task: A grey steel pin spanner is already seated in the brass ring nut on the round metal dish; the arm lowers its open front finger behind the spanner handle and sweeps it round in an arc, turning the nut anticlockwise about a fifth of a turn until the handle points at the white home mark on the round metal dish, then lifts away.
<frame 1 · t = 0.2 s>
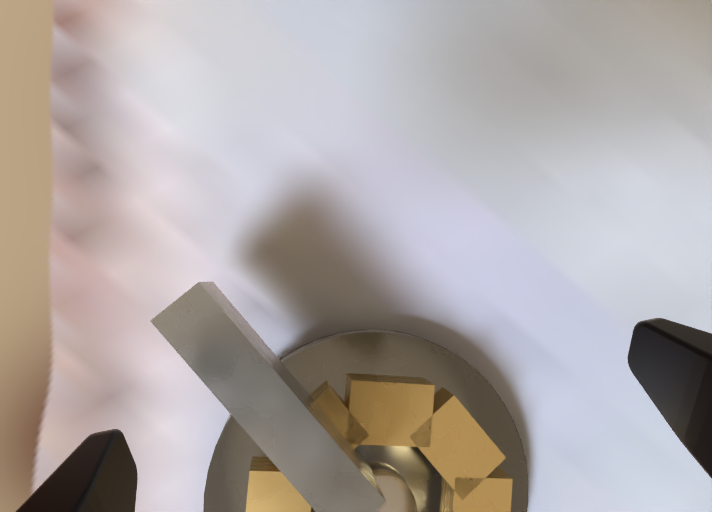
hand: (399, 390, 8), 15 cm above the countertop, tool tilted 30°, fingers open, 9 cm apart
round metal dish: (369, 486, 23), on the countertop
ring nut: (335, 469, 19), point 4 cm above the countertop, hinge at 0.0°
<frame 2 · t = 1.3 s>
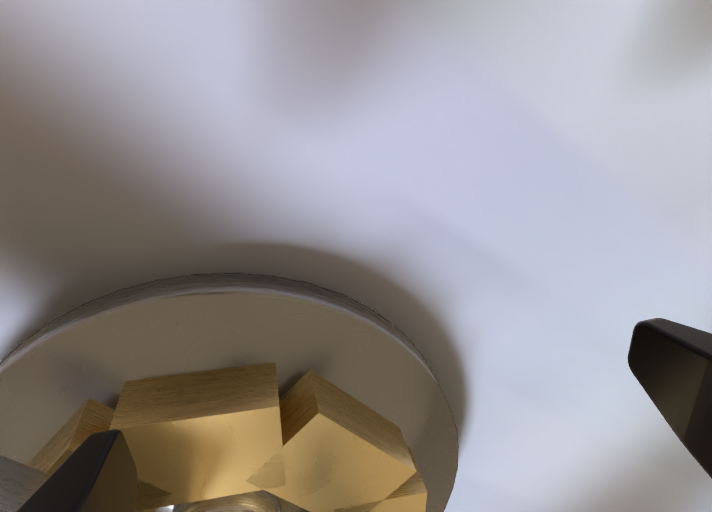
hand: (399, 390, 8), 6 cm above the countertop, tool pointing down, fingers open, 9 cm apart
round metal dish: (228, 476, 16), on the countertop
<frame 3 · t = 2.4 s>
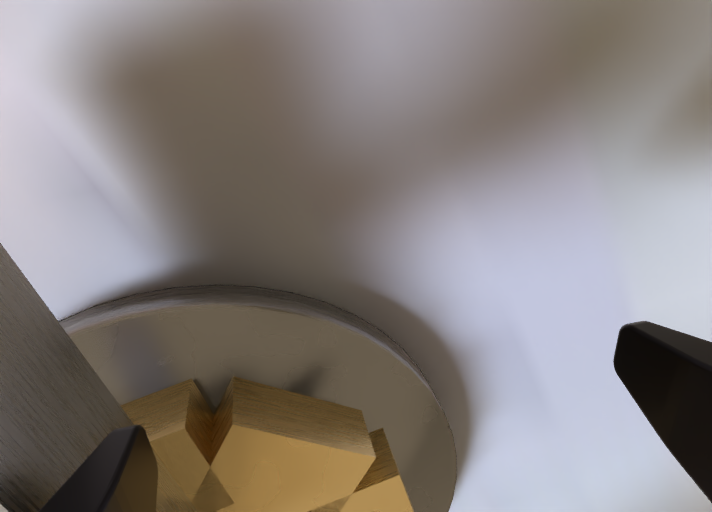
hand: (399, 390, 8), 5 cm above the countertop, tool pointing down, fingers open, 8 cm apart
round metal dish: (219, 493, 15), on the countertop
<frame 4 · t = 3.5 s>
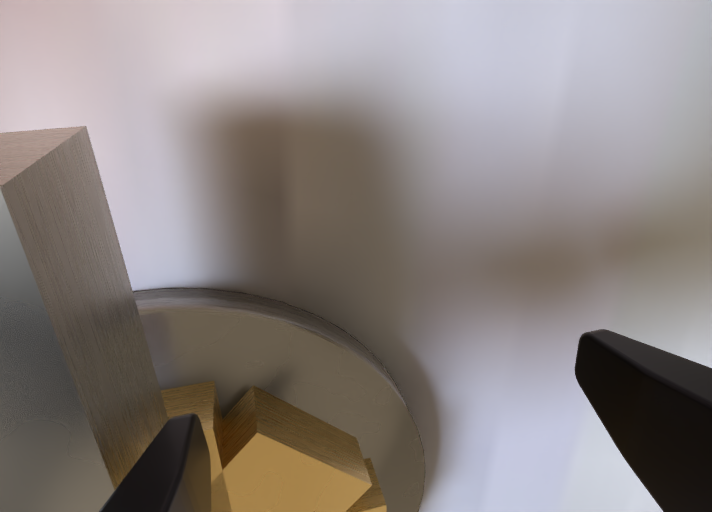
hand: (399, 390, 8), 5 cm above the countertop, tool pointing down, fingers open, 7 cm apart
round metal dish: (186, 498, 15), on the countertop
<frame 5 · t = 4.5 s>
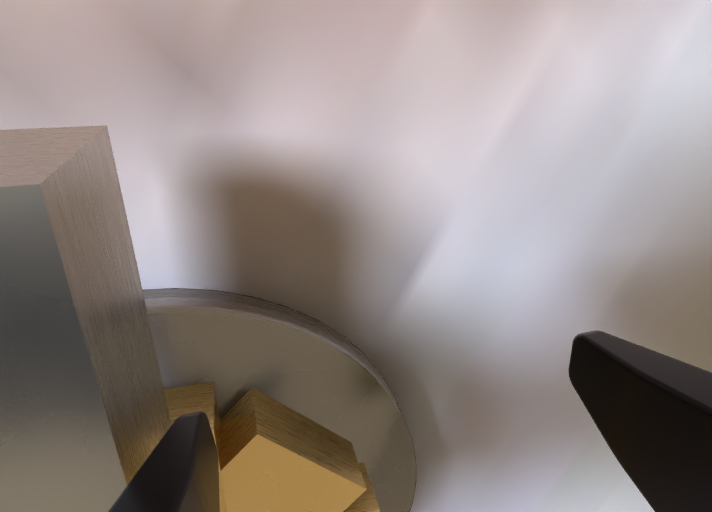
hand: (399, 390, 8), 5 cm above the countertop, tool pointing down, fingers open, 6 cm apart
round metal dish: (177, 500, 15), on the countertop
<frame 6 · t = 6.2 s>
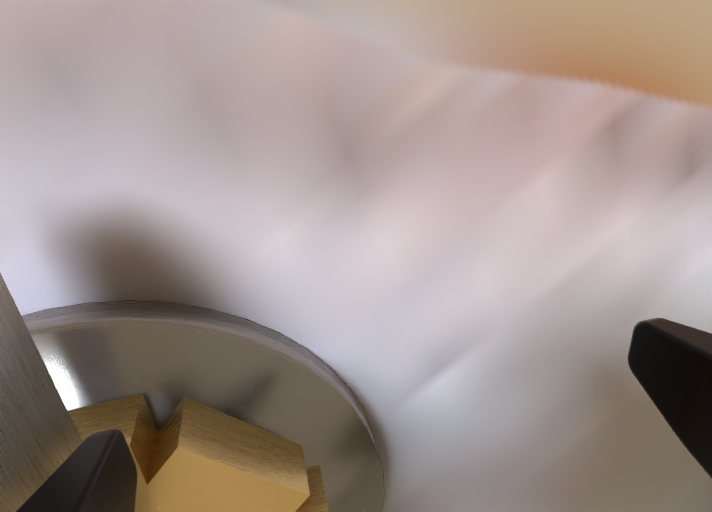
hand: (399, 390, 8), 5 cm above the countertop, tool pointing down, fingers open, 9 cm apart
round metal dish: (144, 507, 15), on the countertop
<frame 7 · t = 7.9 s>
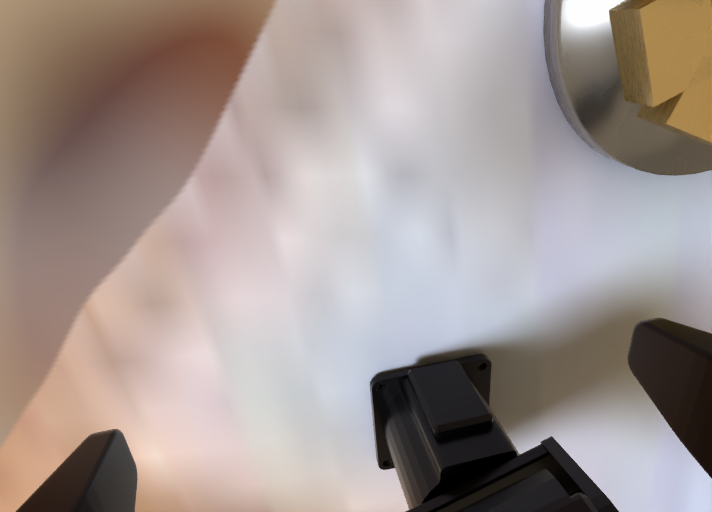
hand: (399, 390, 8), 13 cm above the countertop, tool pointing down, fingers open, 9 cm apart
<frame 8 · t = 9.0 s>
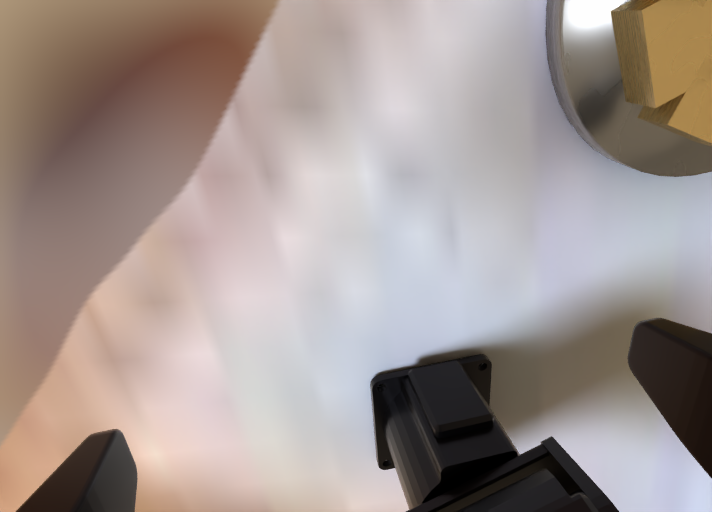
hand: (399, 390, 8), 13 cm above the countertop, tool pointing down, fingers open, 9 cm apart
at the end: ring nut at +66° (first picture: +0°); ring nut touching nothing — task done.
